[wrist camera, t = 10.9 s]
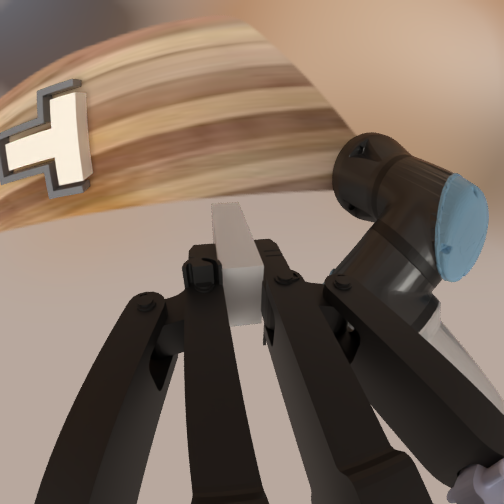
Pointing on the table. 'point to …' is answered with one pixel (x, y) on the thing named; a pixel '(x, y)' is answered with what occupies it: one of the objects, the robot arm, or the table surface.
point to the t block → (59, 141)
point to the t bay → (49, 168)
